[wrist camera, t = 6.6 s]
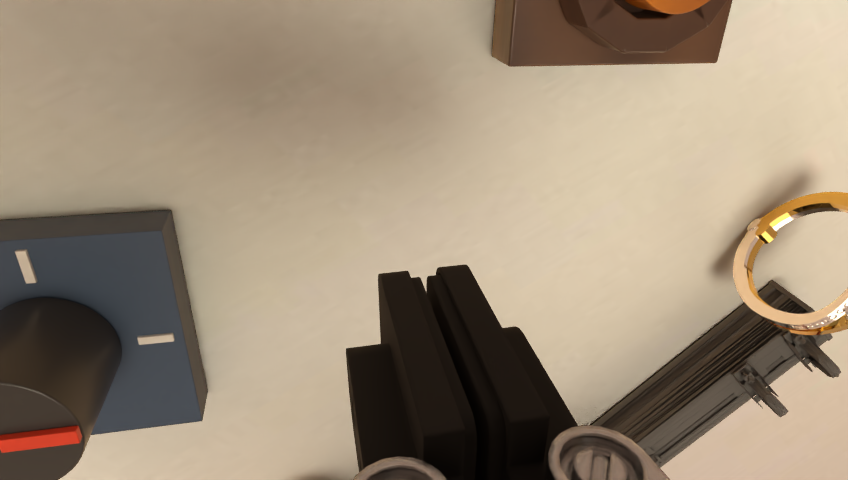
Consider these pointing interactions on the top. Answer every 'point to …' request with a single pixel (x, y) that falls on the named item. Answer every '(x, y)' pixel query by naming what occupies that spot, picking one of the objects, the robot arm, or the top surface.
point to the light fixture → (717, 378)
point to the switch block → (605, 33)
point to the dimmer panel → (117, 304)
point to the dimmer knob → (51, 384)
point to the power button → (668, 5)
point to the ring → (824, 321)
